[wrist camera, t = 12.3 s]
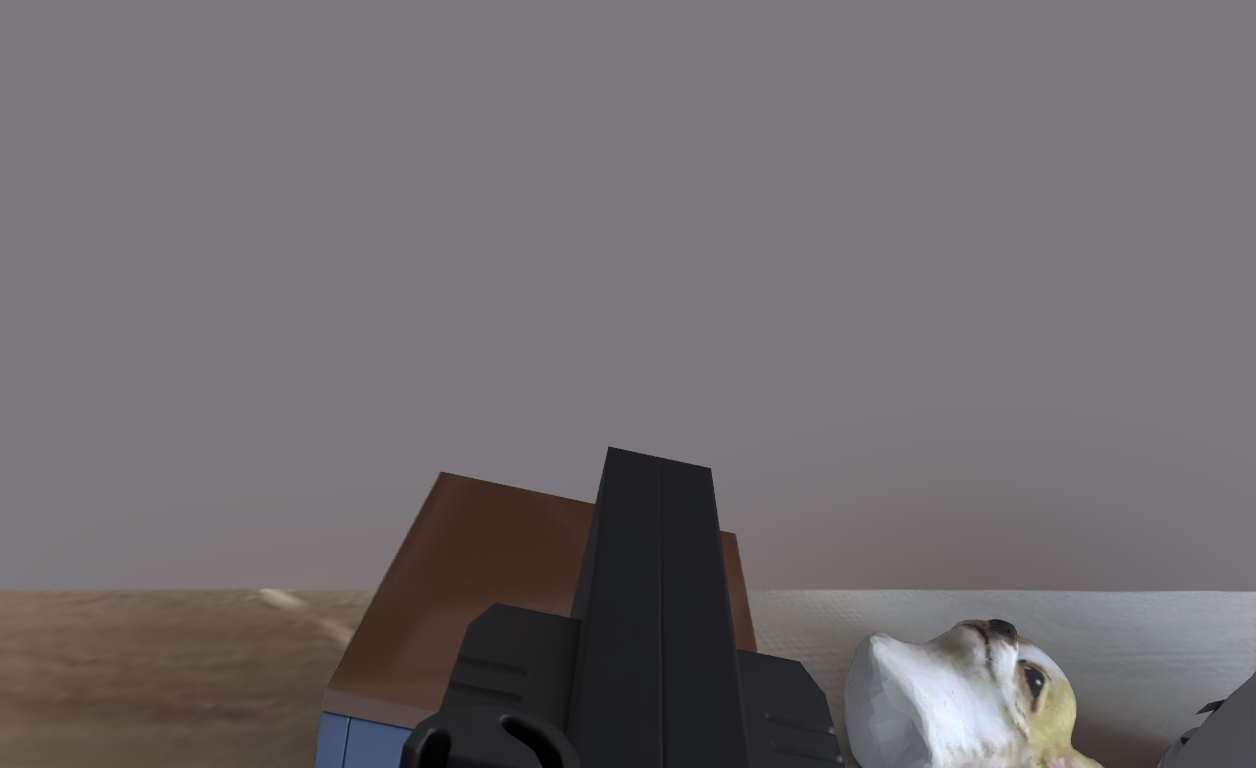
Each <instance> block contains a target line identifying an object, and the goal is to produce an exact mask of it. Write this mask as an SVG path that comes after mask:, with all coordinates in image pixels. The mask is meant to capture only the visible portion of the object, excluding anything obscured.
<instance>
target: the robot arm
mask: <svg viewBox="0 0 1256 768" xmlns="http://www.w3.org/2000/svg"><path fill="white" fill-rule="evenodd" d="M1212 710H1214V711H1213V712H1212V713H1211V714H1210V715H1209V716H1208V717H1207V719H1206V720H1205V721H1204V722H1203V724H1202V725H1201V726H1200V727H1197V728H1194V729H1191V730H1189V731H1187V732H1185V733H1184V734H1183V735H1181V736H1180V737H1179V738H1178V739H1177V740H1175V742H1174V743H1173V744H1172V745H1171V746H1170V747H1168V748H1167V750H1166V751H1165V753H1164V755H1163V757H1162V759H1161V761H1160V763H1159V765H1158V767H1157V768H1256V671H1255V673H1254V674H1253V676H1252V677H1251V678H1250V679H1249V680H1247V681H1246V682H1245V683H1244V684H1243V685H1242V686H1240V687H1239V688H1238V689H1237V690H1236V691H1234V692H1233V693H1232V694H1231V695H1230V696H1229V697H1228V698H1227V699H1225V700H1221V701H1217V702H1212V703H1208V704H1207V705H1206V706H1205V707H1204V708H1203V709H1201V710H1200V711H1199V712H1198V713H1197V714H1200V713H1204V712H1208V711H1212ZM1195 715H1196V714H1195ZM833 731H834V725H833V722H832V718H831V714H830V711H829V707H828V704H827V700H826V696H825V693H824V692H823V691H822V690H821V688H820V687H819V686H818V685H817V683H816V682H815V681H814V679H813V678H812V677H811V676H810V674H809V673H808V672H807V671H806V669H805V668H804V667H803V665H802V664H801V663H800V662H799V661H795V660H790V659H785V658H780V657H775V656H770V655H765V654H760V653H755V652H751V651H746V650H741V649H737V648H736V641H735V634H734V627H733V620H732V613H731V606H730V599H729V592H728V585H727V578H726V571H725V564H724V557H723V550H722V543H721V536H720V529H719V522H718V515H717V508H716V501H715V494H714V487H713V480H712V472H711V468H707V467H702V466H698V465H693V464H688V463H683V462H679V461H674V460H669V459H665V458H660V457H655V456H650V455H646V454H641V453H637V452H632V451H627V450H622V449H617V448H613V447H608V451H607V456H606V460H605V464H604V469H603V474H602V478H601V482H600V487H599V491H598V495H597V500H596V504H595V508H594V512H593V517H592V521H591V526H590V530H589V534H588V539H587V543H586V547H585V552H584V556H583V560H582V565H581V569H580V573H579V578H578V582H577V587H576V591H575V595H574V600H573V604H572V608H571V614H570V618H569V617H564V616H559V615H554V614H549V613H544V612H540V611H535V610H530V609H525V608H520V607H515V606H510V605H505V604H501V603H496V602H495V603H494V604H492V605H491V606H490V607H489V608H488V609H486V610H485V611H484V612H483V613H481V614H480V615H479V616H478V617H477V618H475V619H474V620H473V621H472V622H471V623H469V624H468V626H467V629H466V632H465V635H464V638H463V641H462V644H461V647H460V650H459V653H458V656H457V660H456V662H455V665H454V668H453V671H452V674H451V676H450V679H449V683H448V687H447V688H446V691H445V694H444V697H443V700H442V703H441V706H440V709H439V711H438V712H436V713H435V714H433V715H431V716H430V717H428V718H426V719H425V720H423V721H421V722H420V723H418V724H417V726H416V727H415V729H414V730H413V731H412V733H411V734H410V736H409V737H408V739H407V740H406V742H405V743H404V744H403V748H402V754H401V759H400V765H399V768H845V766H844V763H841V758H842V755H841V751H840V747H839V744H838V740H837V736H836V734H833Z"/></svg>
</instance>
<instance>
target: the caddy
mask: <svg viewBox="0 0 1256 768" xmlns="http://www.w3.org/2000/svg"><path fill="white" fill-rule="evenodd" d="M413 730H414V729H410V728H405V727H400V726H395V725H389V724H384V723H379V722H374V721H369V720H364V719H359V718H354V717H349V716H344V715H339V714H334V713H329V712H324V711H322V713H321V716H320V723H319V730H318V738H317V745H316V752H315V759H314V766H313V768H399V765H400V759H401V754H402V748H403V744H404V743H405V742H406V740H407V739H408V737H409V736H410V734H411V733H412V731H413Z"/></svg>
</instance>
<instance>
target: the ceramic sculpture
mask: <svg viewBox="0 0 1256 768" xmlns="http://www.w3.org/2000/svg"><path fill="white" fill-rule="evenodd" d="M844 704H845V716H844V717H845V722H846V726H847V730H848V737H849V742H850V746H851V750H852V754H853V755H854V757H855V759H856V760H857V762H858V763H859V764H860V766H862V767H863V768H1106V767H1104V766H1103V765H1102V764H1100V763H1099V762H1097V761H1096V760H1094V759H1092V758H1089V757H1087V756H1085V755H1083V754H1081V753H1079V752H1078V751H1076V750H1075V749H1073V748H1072V745H1071V742H1070V741H1071V734H1072V730H1073V726H1074V722H1075V718H1076V700H1075V696H1074V693H1073V690H1072V688H1071V686H1070V684H1069V681H1068V680H1067V678H1066V676H1065V675H1064V674H1063V672H1062V671H1061V669H1060V668H1059V667H1058V666H1057V665H1056V664H1055V663H1054V662H1053V661H1052V660H1051V659H1050V658H1049V657H1048V656H1047V655H1046V654H1045V653H1044V652H1043V651H1042V650H1041V649H1040V648H1038V647H1037V646H1036V645H1035V644H1034V643H1032V642H1031V641H1029V640H1028V639H1026V638H1024V637H1023V636H1019V635H1017V631H1016V629H1015V627H1014V626H1013V625H1012V624H1010V623H1008V622H1006V621H1003V620H998V619H992V620H988V621H982V620H965V621H962V622H959V623H957V624H956V625H955V626H954V627H953V628H952V629H951V630H950V631H948V632H946V633H944V634H942V635H940V636H939V637H937V638H935V639H933V640H930V641H928V642H926V643H924V644H912V643H906V642H902V641H898V640H896V639H894V638H892V637H890V636H888V635H886V634H883V633H880V632H873V633H872V634H870V635H868V636H866V637H865V638H864V639H863V640H862V641H861V642H860V644H859V645H858V647H857V649H856V653H855V656H854V659H853V661H852V664H851V666H850V669H849V673H848V677H847V680H846V683H845V686H844Z"/></svg>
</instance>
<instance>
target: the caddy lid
mask: <svg viewBox="0 0 1256 768" xmlns="http://www.w3.org/2000/svg"><path fill="white" fill-rule="evenodd" d="M594 508H595V504H591V503H587V502H582V501H577V500H572V499H568V498H563V497H559V496H554V495H549V494H544V493H540V492H535V491H530V490H525V489H521V488H516V487H511V486H506V485H502V484H497V483H493V482H488V481H483V480H478V479H474V478H469V477H464V476H459V475H455V474H450V473H445V472H440V473H439V475H438V477H437V479H436V481H435V483H434V485H433V487H432V488H431V490H430V492H429V494H428V496H427V498H426V500H425V501H424V503H423V505H422V507H421V509H420V511H419V513H418V514H417V516H416V518H415V520H414V522H413V524H412V526H411V527H410V529H409V531H408V533H407V535H406V537H405V539H404V541H403V542H402V544H401V546H400V548H399V550H398V552H397V553H396V555H395V557H394V559H393V561H392V563H391V565H390V567H389V568H388V570H387V572H386V574H385V576H384V578H383V580H382V581H381V583H380V585H379V587H378V589H377V591H376V593H375V594H374V596H373V598H372V600H371V602H370V604H369V606H368V608H367V609H366V611H365V613H364V615H363V617H362V619H361V621H360V622H359V624H358V626H357V628H356V630H355V632H354V634H353V635H352V637H351V639H350V641H349V643H348V645H347V647H346V649H345V650H344V652H343V654H342V656H341V658H340V660H339V662H338V663H337V665H336V667H335V669H334V671H333V673H332V675H331V676H330V678H329V680H328V682H327V684H326V686H325V688H324V694H323V701H322V711H324V712H329V713H334V714H339V715H344V716H349V717H354V718H359V719H364V720H369V721H374V722H379V723H384V724H389V725H395V726H400V727H405V728H410V729H415V727H416V726H417V724H418V723H420V722H421V721H423V720H425V719H426V718H428V717H430V716H431V715H433V714H435V713H436V712H438V711H439V709H440V706H441V703H442V700H443V697H444V694H445V691H446V688H447V687H448V683H449V679H450V676H451V674H452V671H453V668H454V665H455V662H456V660H457V656H458V653H459V650H460V647H461V644H462V641H463V638H464V635H465V632H466V629H467V626H468V624H469V623H471V622H472V621H473V620H474V619H475V618H477V617H478V616H479V615H480V614H481V613H483V612H484V611H485V610H486V609H488V608H489V607H490V606H491V605H492V604H494V603H495V602H496V603H501V604H505V605H510V606H515V607H520V608H525V609H530V610H535V611H540V612H544V613H549V614H554V615H559V616H564V617H569V618H570V614H571V608H572V604H573V600H574V595H575V591H576V587H577V582H578V578H579V573H580V569H581V565H582V560H583V556H584V552H585V547H586V543H587V539H588V534H589V530H590V526H591V521H592V517H593V512H594ZM720 536H721V543H722V550H723V557H724V564H725V571H726V578H727V585H728V592H729V599H730V606H731V613H732V620H733V627H734V634H735V641H736V648H737V649H741V650H746V651H751V652H755V653H758V651H757V645H756V640H755V635H754V629H753V624H752V618H751V613H750V608H749V602H748V597H747V591H746V586H745V580H744V575H743V570H742V564H741V559H740V554H739V549H738V543H737V537H736V534H733V533H729V532H724V531H720Z"/></svg>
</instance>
